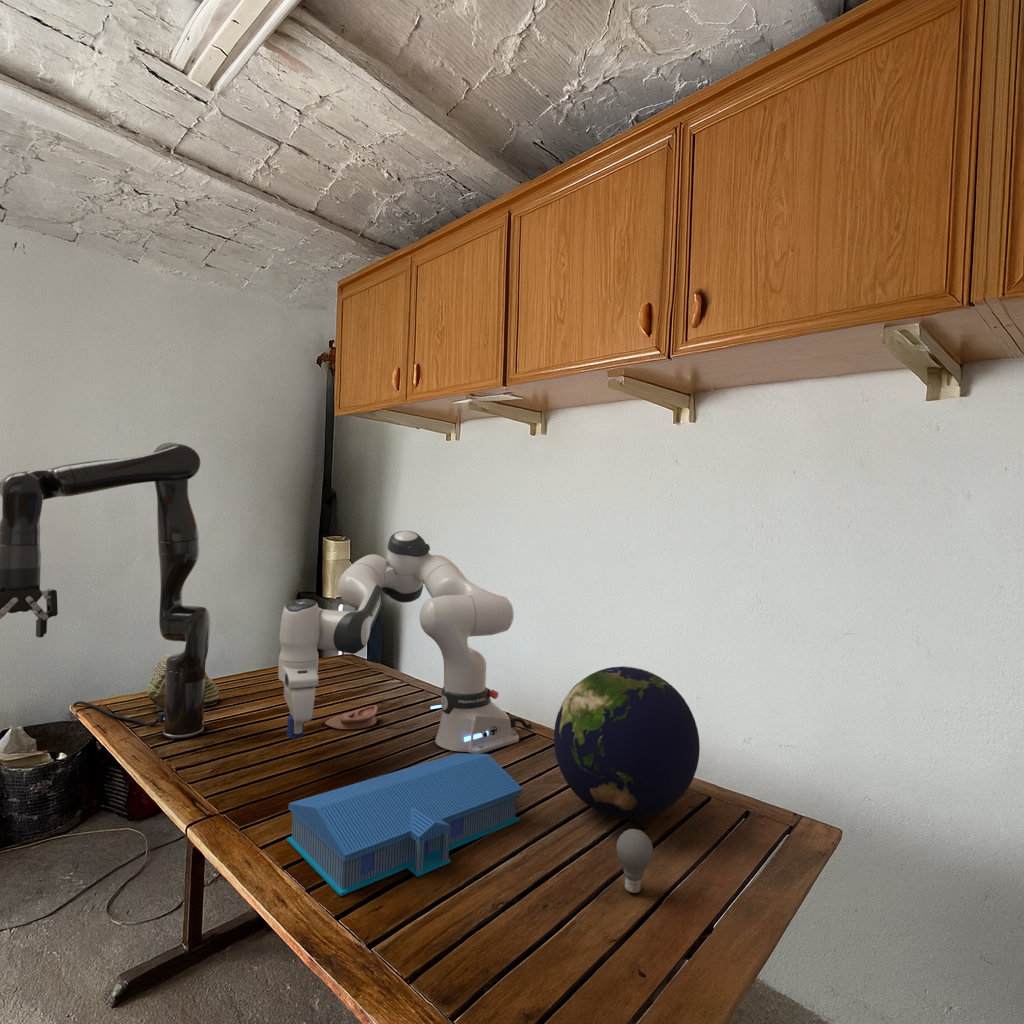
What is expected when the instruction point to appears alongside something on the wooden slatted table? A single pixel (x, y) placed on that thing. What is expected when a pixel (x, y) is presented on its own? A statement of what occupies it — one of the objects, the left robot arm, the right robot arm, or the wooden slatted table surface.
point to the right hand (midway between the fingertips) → (296, 729)
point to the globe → (626, 742)
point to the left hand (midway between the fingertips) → (16, 639)
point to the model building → (402, 819)
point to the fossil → (158, 687)
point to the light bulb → (634, 857)
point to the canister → (290, 729)
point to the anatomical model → (354, 719)
